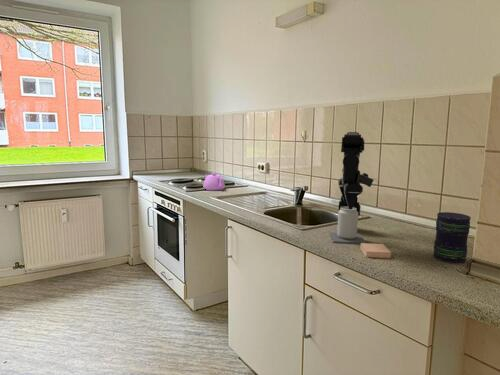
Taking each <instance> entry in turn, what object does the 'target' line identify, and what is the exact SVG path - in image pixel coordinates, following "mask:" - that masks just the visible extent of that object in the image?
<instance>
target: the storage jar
mask: <svg viewBox="0 0 500 375" xmlns="http://www.w3.org/2000/svg"><path fill="white" fill-rule="evenodd" d="M436 214H437V215H436V216H437V217H436V221H435V230H436V231H435V232H436V234H435V240H434V244H433V255H432V256H433V258H434V259H435V260H437V261H439V262H442V263H448V264H452V265H453V264H455V265H460V264H465V263H466V260H467V255H468V236H469V233H470V228H471V216H470V215H466V214H463V213H458V212H450V211H449V212H448V211H445V212H444V211H443V212H442V211H441V212H437V213H436Z"/></svg>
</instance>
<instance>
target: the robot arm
mask: <svg viewBox="0 0 500 375" xmlns="http://www.w3.org/2000/svg"><path fill="white" fill-rule="evenodd" d="M340 147H341V149H340V152H341V153H343V159H342V164H343V165H342V170H341V171H342V177H341V178H340V179H338V183H337V184H338V188H339V190H340V193H341V196H340V200H339V201H338V211H339V210H340V209H341V207H349V209H352V208H353V207H354V208H356V209H357V210H356V211H357V212H358V217H359V216H360V215H361V205H360V202H358V199H359V198H358V196H359V195H362V193H363V190H364V188H363V186H362V184H363V185H364V186H366V187H368V188H371V187H372V185H373V182H374V179H373V178H372V177H369V174H368V173H365V172H363V173H361V171H360V170H359V165H360V157H361V154H362V153H363V151H365V139H364V137H362V134H361V133H360V132H358V131H348V132H346V134H344V135H343V137H341V146H340Z"/></svg>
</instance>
